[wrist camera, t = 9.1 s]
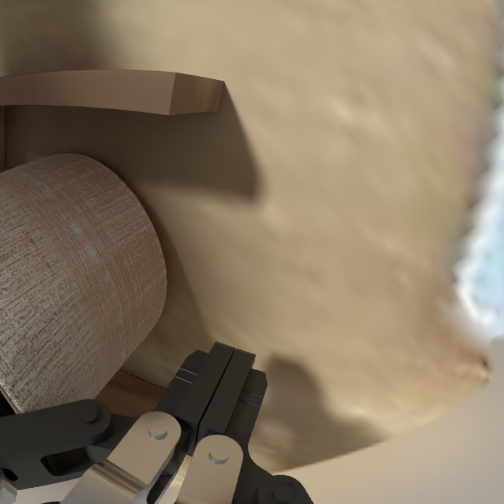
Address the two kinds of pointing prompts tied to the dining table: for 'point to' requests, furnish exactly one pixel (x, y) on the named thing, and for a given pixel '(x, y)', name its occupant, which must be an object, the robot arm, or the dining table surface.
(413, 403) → the dining table surface
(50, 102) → the bay
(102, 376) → the planter
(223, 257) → the dining table surface
